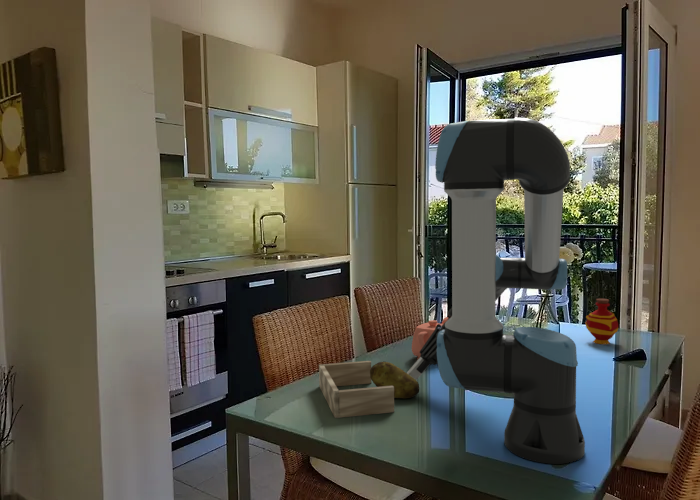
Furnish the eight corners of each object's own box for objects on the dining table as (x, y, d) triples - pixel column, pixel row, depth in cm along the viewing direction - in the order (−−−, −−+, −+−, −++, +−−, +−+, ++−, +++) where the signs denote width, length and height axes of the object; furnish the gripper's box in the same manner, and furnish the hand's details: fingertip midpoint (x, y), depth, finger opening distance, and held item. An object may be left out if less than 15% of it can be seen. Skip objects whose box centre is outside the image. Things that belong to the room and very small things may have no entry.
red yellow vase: (619, 340, 189) (620, 298, 187) (616, 347, 180) (617, 303, 179) (587, 337, 194) (588, 296, 193) (582, 343, 186) (583, 300, 184)
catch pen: (394, 412, 127) (394, 387, 127) (334, 418, 124) (334, 392, 124) (370, 381, 149) (370, 360, 149) (319, 386, 146) (318, 364, 146)
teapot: (437, 368, 160) (437, 328, 159) (402, 362, 167) (402, 324, 166) (464, 352, 177) (464, 316, 176) (431, 347, 184) (430, 312, 182)
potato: (400, 405, 131) (399, 373, 130) (365, 392, 141) (364, 362, 140) (423, 397, 136) (423, 366, 136) (388, 385, 146) (387, 356, 146)
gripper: (487, 326, 138) (427, 397, 136) (466, 315, 150) (411, 380, 149) (467, 307, 136) (406, 378, 134) (448, 298, 149) (391, 363, 147)
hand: (408, 379), depth 142 cm, fingers closed
